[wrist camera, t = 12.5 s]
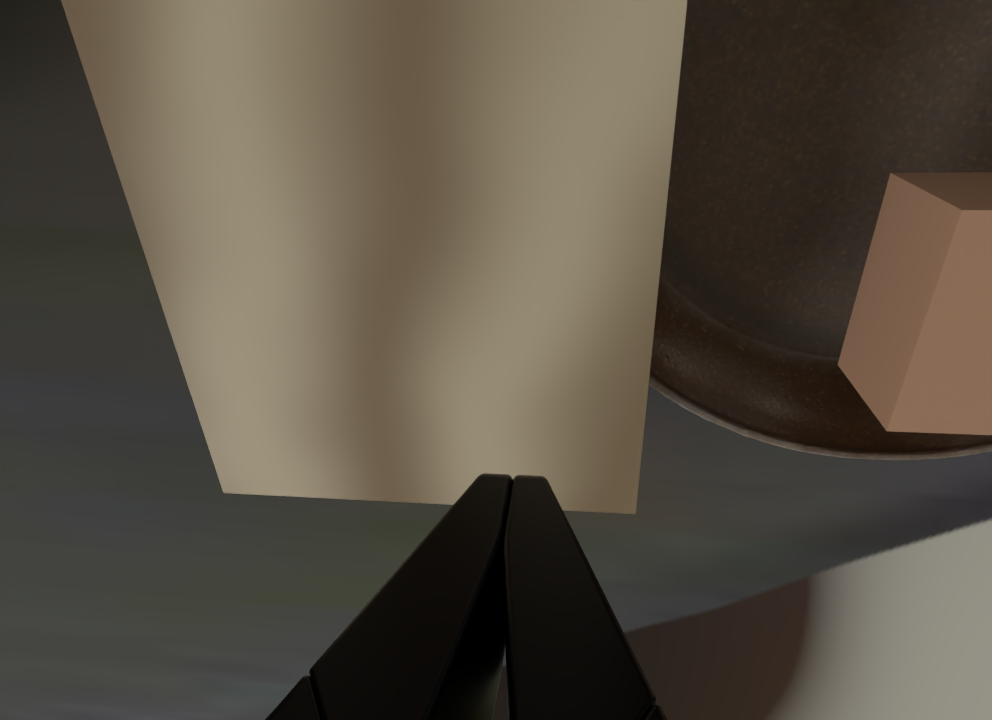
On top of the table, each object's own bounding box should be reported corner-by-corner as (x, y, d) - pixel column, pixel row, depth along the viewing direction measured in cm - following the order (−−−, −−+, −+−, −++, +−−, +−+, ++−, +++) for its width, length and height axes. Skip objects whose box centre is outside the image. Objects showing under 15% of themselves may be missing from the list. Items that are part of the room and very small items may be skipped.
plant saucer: (387, -237, 14) (338, -300, 11) (1724, -1040, 8) (2314, -1575, 6) (631, 457, 23) (640, 522, 20) (1363, 292, 17) (1519, 349, 14)
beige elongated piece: (306, 378, 22) (223, 493, 17) (117, -492, 12) (-222, -858, 7) (620, 387, 21) (635, 513, 16) (692, -575, 11) (797, -1095, 6)
